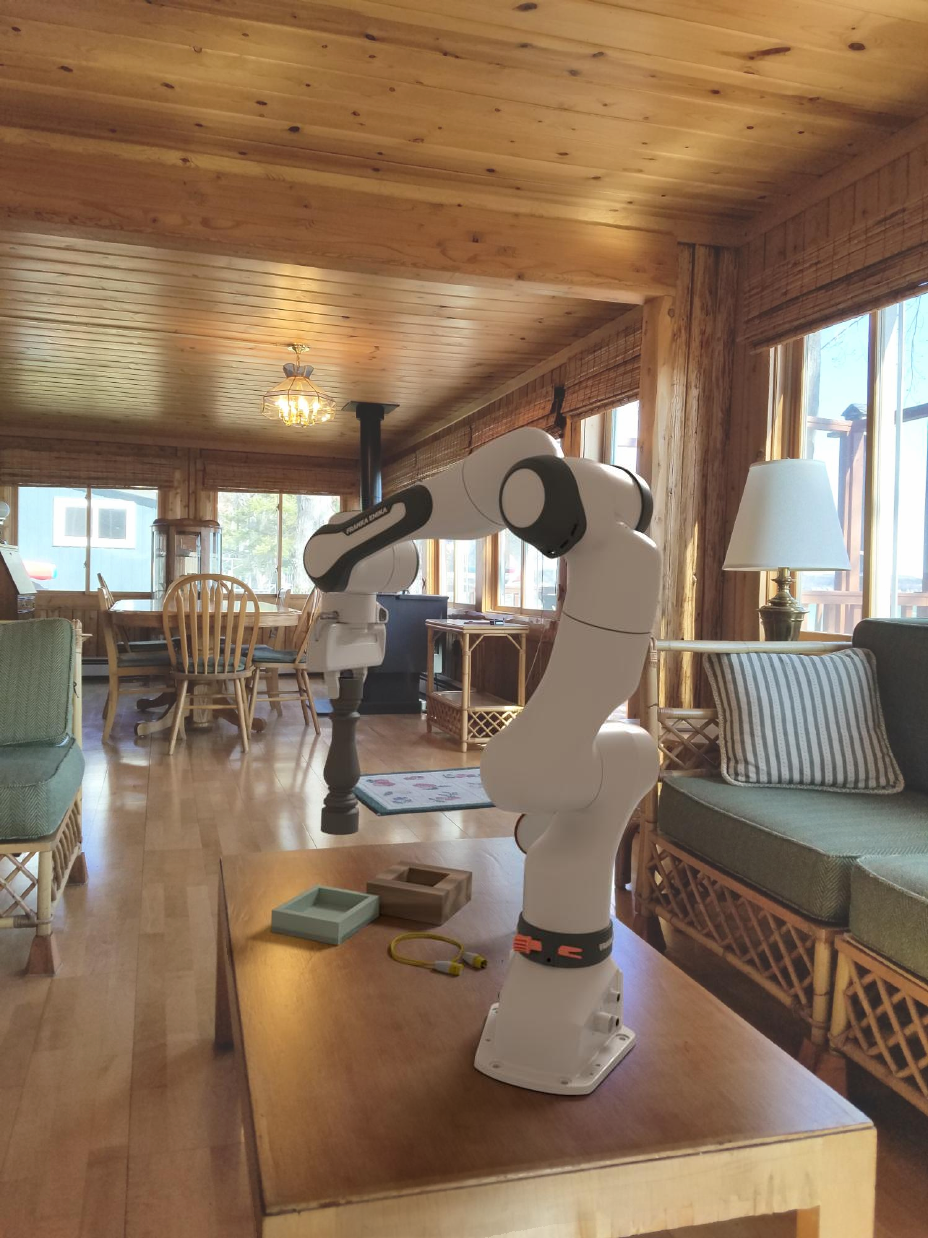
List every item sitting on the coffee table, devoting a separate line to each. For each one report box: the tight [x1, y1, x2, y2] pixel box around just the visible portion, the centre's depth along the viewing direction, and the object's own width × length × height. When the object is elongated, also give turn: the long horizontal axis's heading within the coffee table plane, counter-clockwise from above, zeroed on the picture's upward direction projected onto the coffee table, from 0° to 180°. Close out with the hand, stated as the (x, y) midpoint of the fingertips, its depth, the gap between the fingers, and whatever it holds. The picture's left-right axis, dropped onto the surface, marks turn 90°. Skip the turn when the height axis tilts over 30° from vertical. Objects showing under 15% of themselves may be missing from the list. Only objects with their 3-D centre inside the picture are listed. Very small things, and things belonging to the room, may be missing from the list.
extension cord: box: [390, 932, 488, 976], centre depth 135 cm, size 12×16×2 cm
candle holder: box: [320, 675, 364, 836], centre depth 147 cm, size 6×6×25 cm
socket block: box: [365, 860, 473, 926], centre depth 157 cm, size 14×14×5 cm
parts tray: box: [270, 884, 380, 946], centre depth 146 cm, size 14×12×4 cm
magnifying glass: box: [513, 813, 555, 855], centre depth 149 cm, size 9×2×20 cm, turn 102°
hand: (345, 696), depth 146 cm, fingers closed on candle holder, 6 cm apart
